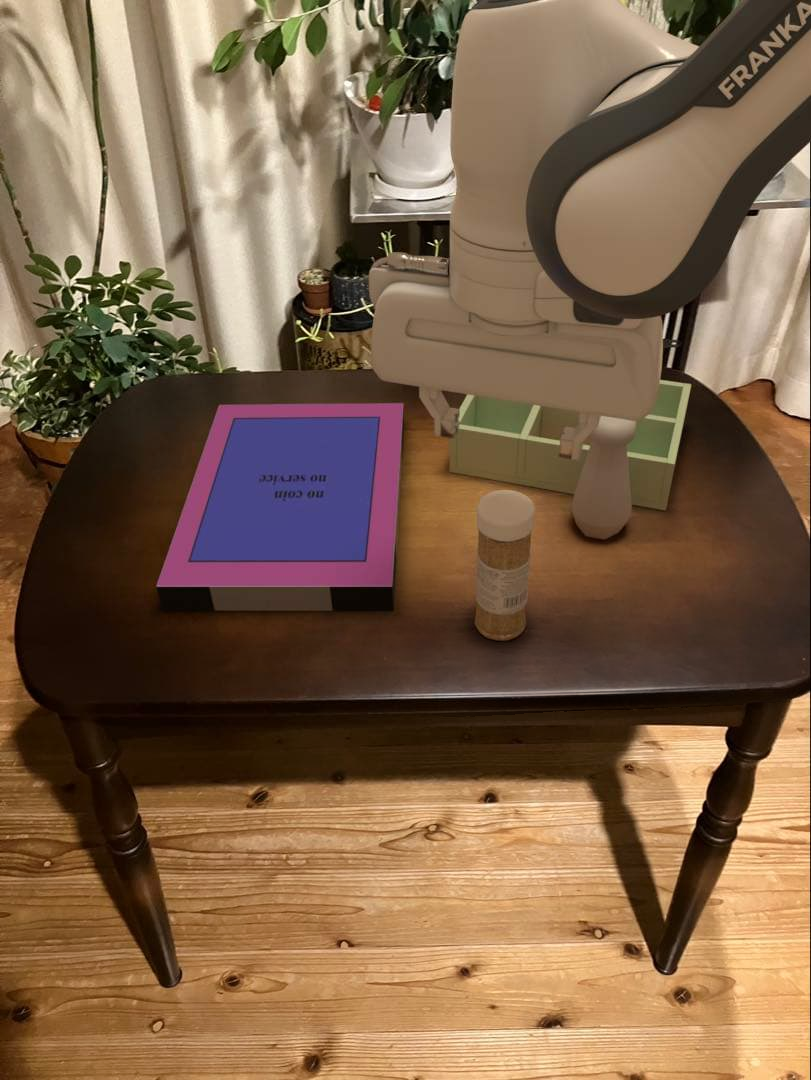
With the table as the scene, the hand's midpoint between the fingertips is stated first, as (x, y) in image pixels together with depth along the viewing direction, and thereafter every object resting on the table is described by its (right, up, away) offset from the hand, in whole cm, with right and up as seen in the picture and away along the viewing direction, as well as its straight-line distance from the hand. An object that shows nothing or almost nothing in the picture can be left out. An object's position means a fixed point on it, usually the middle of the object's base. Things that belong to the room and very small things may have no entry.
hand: (507, 443), depth 68 cm
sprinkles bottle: (+1, -15, +13) cm, 19 cm away
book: (-19, -4, +26) cm, 32 cm away
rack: (+10, +3, +32) cm, 34 cm away
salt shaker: (+11, -6, +22) cm, 26 cm away
